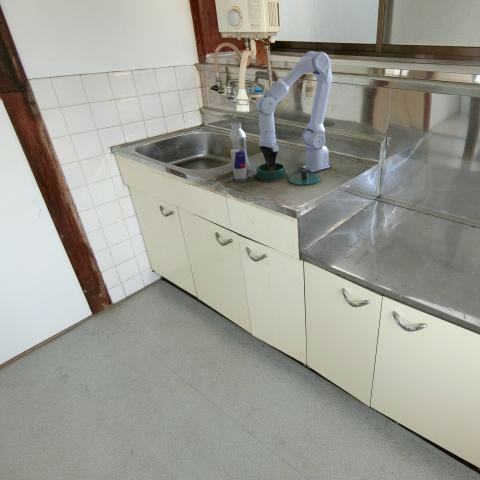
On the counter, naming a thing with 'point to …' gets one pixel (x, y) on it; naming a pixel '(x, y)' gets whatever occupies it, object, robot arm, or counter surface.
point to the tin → (270, 172)
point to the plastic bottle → (239, 140)
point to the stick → (270, 167)
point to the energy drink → (239, 164)
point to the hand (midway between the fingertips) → (270, 165)
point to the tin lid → (304, 178)
